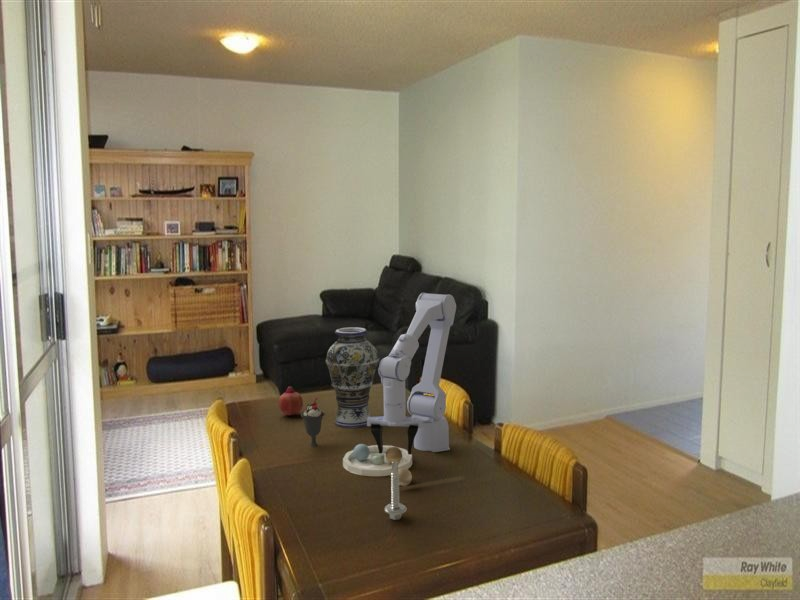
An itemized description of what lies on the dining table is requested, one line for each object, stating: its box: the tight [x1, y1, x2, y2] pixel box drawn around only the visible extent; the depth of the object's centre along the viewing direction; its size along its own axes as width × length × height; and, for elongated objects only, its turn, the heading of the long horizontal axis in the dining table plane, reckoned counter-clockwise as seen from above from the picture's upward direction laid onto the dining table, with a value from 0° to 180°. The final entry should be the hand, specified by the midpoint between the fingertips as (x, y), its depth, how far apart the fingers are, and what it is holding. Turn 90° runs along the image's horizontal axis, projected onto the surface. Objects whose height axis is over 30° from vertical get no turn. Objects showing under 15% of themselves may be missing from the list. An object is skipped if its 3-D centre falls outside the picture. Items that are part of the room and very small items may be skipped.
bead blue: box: [352, 443, 370, 461], centre depth 177 cm, size 4×4×4 cm
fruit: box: [277, 385, 304, 417], centre depth 220 cm, size 8×8×10 cm
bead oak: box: [386, 446, 402, 463], centre depth 175 cm, size 4×4×4 cm
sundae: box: [300, 397, 326, 448], centre depth 189 cm, size 7×7×15 cm
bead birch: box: [398, 468, 413, 488], centre depth 162 cm, size 4×4×4 cm
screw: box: [384, 461, 407, 521], centre depth 145 cm, size 13×5×5 cm
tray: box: [342, 444, 413, 477], centre depth 176 cm, size 18×18×3 cm
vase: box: [325, 326, 380, 429], centre depth 211 cm, size 17×17×30 cm
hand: (395, 452), depth 175 cm, fingers open, 7 cm apart
